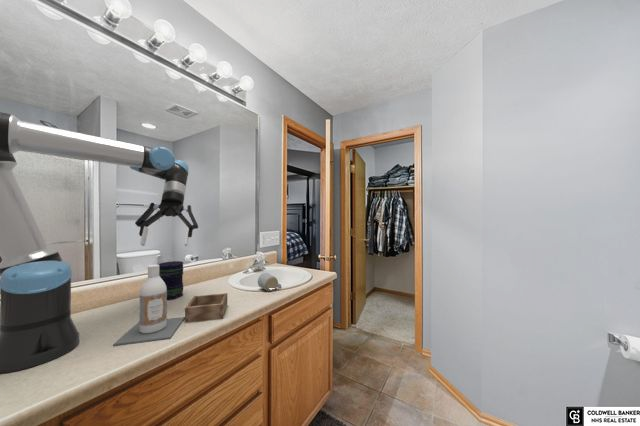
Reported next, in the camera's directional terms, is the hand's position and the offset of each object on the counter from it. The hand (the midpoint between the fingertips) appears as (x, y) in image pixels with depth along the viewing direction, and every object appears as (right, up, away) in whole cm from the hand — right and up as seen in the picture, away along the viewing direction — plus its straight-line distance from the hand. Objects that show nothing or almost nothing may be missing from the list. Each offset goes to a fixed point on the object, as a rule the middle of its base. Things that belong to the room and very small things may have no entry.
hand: (164, 244), depth 84 cm
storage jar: (-10, -26, +18) cm, 33 cm away
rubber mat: (+5, -25, -12) cm, 29 cm away
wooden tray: (+16, -25, 0) cm, 30 cm away
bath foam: (+5, -25, -12) cm, 28 cm away
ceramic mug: (+33, -26, +28) cm, 51 cm away
